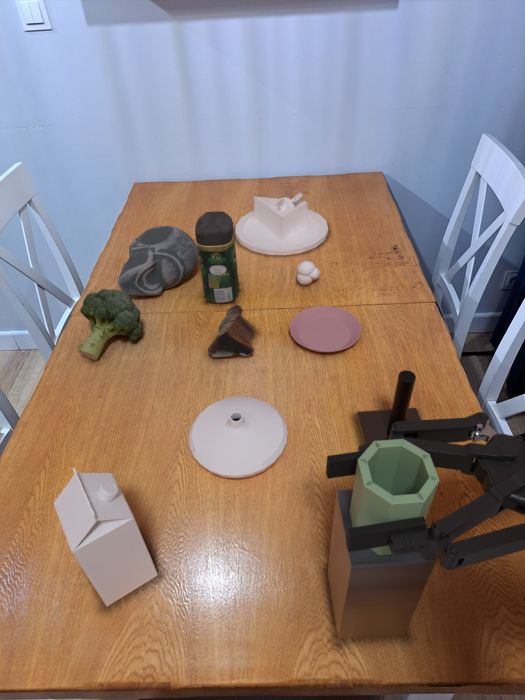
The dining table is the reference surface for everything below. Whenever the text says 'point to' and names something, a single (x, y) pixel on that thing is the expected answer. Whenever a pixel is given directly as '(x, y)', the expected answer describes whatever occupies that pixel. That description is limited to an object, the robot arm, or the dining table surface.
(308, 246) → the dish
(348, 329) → the plate
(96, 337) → the vegetable
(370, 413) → the peg stand
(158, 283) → the grey swirled rock
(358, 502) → the green octagonal tube
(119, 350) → the dining table surface
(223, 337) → the stone
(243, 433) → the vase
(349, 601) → the stand
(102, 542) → the milk carton
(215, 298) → the coffee jar
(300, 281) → the microfossil shell
